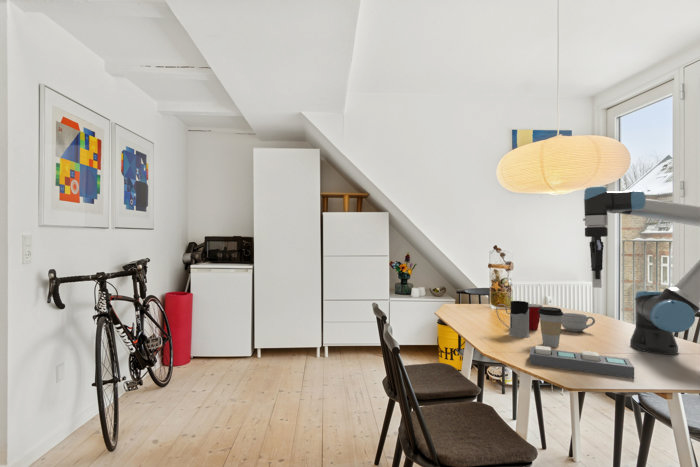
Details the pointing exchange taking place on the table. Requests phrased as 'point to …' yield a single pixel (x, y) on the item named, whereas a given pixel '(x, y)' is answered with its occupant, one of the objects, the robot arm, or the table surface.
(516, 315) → the grey and black mug
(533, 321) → the plastic cup
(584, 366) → the keyboard
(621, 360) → the teal key
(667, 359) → the table surface
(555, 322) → the coffee cup
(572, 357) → the teal key
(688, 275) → the robot arm
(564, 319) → the teacup
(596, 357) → the white key
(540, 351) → the white key
